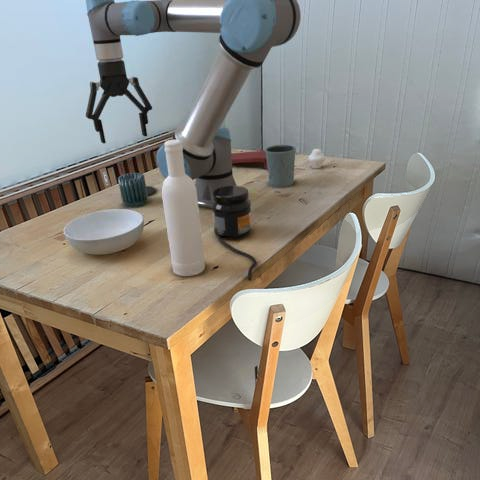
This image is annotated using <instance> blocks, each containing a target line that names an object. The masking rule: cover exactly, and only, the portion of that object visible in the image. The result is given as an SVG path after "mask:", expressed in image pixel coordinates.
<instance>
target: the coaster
mask: <svg viewBox="0 0 480 480" xmlns="http://www.w3.org/2000/svg"><path fill="white" fill-rule="evenodd" d="M146 190H147V197H150V196H153V195H154V194H155V193H156V192H157V190H156V188H155V187H153V186H148V185H146Z"/></svg>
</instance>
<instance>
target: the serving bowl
mask: <svg viewBox="0 0 480 480" xmlns="http://www.w3.org/2000/svg"><path fill="white" fill-rule="evenodd" d="M144 227H145V218H144V216H143V214H141V213H140V212H138V211H136V210H133V209H125V208H110V209H103V210H97V211H93V212H89V213H86V214H83V215H80V216H78V217H75V218H74V219H72V220H70V221H69V222H67V224H66V225H65V226H64V227H63V231H62V232H63V235H64V237H65V239H66V241H67V242H68V244H69V245H70V246H71V247H72V248H74V249H75V250H76V251H78V252H81V253H83V254H87V255H95V256H96V255H101V256H102V255H108V254H113V253H117V252H121V251H123V250H126V249H127V248H129V247H131V246H133V245H134V244H136V243H137V241H138V240H139V239H140V237H141V236H142V234H143V231H144Z"/></svg>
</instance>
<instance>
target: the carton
mask: <svg viewBox="0 0 480 480" xmlns="http://www.w3.org/2000/svg"><path fill="white" fill-rule="evenodd" d="M231 156H232V164H242V163H254V162H255V163H263V168H264V170H268V169H267V160H266V152H265V149H264V150H255V151H254V150H253V151H243V152H231Z"/></svg>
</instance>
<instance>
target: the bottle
mask: <svg viewBox="0 0 480 480" xmlns="http://www.w3.org/2000/svg"><path fill="white" fill-rule="evenodd" d="M163 145H165V148H164V150H165V152H166V159H167V167H168V174H169V175H168V177H167V178H166V179H165V178H164V181H163V183H162V187H161V188H162V189H161V198H162V207H163V212H164V217H165V226H166V231H167V238H168V246H169V252H170V258H171V259H170V262H171V267H172V271H173V273H174V274H175V275H177V276H178V277H179V276H180V277H195V276H197V275H200V274H201V273H203V272H204V270H205V268H206V265H205V262H206V261H205V255H204V247H203V238H202V237H203V236H202V230H201V229H202V228H201V227H202V226H201V220H200V212H199V211H200V210H199V207H198V200H197V190H196V186H195V181H194V180H192V179H191V178H190V177H189V176H187V175H186V174H185V168H184V159H183V146H182V143H181V141H180V140H171V139H170V140H166V141H165V142H164V143H163Z"/></svg>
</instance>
